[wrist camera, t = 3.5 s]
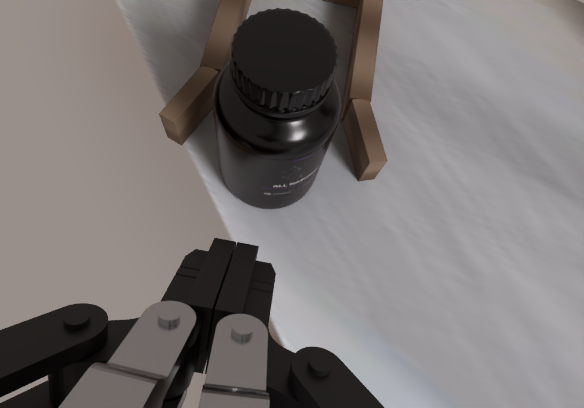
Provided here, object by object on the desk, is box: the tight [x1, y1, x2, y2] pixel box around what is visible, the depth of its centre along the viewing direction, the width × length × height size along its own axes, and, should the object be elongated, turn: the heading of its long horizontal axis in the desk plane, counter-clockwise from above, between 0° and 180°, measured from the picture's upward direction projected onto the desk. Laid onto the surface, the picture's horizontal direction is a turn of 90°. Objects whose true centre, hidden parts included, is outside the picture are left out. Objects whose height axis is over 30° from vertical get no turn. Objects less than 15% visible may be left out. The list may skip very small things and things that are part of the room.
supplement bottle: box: [213, 8, 341, 209], centre depth 23 cm, size 7×7×12 cm
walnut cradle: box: [159, 0, 387, 181], centre depth 28 cm, size 18×15×8 cm
